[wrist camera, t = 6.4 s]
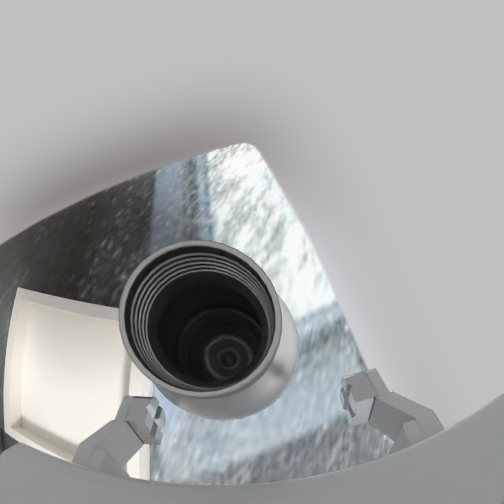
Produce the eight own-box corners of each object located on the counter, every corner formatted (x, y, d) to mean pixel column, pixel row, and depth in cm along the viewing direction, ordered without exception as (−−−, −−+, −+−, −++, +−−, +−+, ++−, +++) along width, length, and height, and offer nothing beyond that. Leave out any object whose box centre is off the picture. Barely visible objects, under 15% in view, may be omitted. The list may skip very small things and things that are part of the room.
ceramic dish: (149, 486, 17) (140, 496, 14) (20, 430, 17) (5, 432, 14) (160, 320, 25) (150, 313, 22) (32, 295, 25) (17, 287, 22)
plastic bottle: (215, 312, 25) (164, 157, 7) (278, 346, 24) (385, 266, 6) (180, 368, 23) (29, 339, 5) (244, 405, 22) (259, 507, 4)
